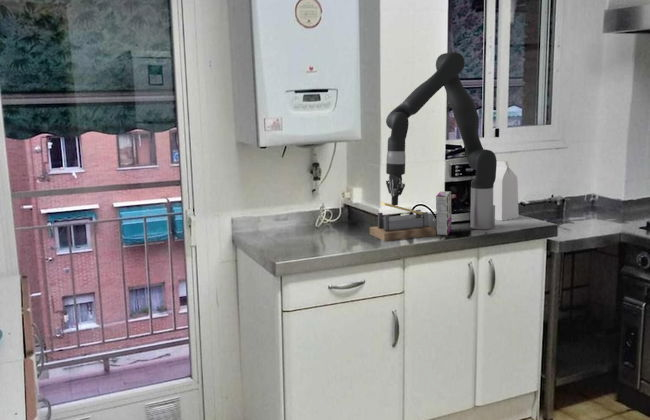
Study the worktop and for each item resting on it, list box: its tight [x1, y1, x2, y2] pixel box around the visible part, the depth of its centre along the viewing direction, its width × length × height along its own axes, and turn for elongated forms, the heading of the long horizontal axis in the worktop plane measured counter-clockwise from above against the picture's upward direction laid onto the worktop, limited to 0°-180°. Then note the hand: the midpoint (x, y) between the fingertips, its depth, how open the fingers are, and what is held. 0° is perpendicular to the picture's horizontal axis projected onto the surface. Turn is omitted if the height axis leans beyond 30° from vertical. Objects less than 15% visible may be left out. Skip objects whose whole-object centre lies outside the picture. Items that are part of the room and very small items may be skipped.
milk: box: [493, 160, 520, 221], centre depth 276 cm, size 12×12×26 cm
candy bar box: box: [435, 191, 452, 236], centre depth 249 cm, size 11×5×16 cm, turn 161°
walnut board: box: [369, 224, 437, 242], centre depth 248 cm, size 23×14×3 cm, turn 110°
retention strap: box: [380, 201, 424, 217], centre depth 247 cm, size 19×4×2 cm, turn 110°
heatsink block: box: [377, 209, 429, 231], centre depth 248 cm, size 19×8×6 cm, turn 110°
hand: (394, 205), depth 245 cm, fingers closed
